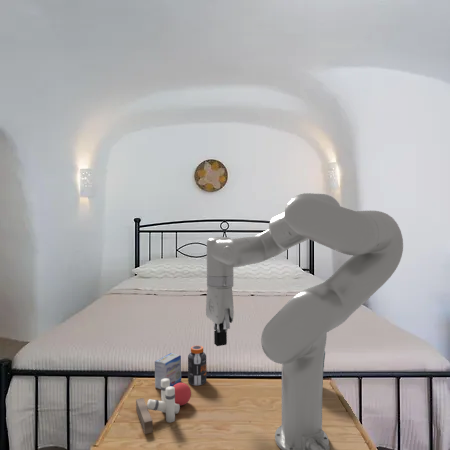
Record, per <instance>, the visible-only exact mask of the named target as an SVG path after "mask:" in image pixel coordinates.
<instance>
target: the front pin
mask: <svg viewBox="0 0 450 450" xmlns="http://www.w3.org/2000/svg"><path fill="white" fill-rule="evenodd" d="M146 406H147V409H148V410H149V411H150V410H151V411H157V412H162V411H163V412H166V402H164V401H161V400H158V399H151V398H149V399H148V400H147V403H146ZM180 408H181V407H180V405H179V404H176V403H175V415H176V414H179V412H180ZM163 412H162V413H163Z"/></svg>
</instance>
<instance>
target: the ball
mask: <svg viewBox="0 0 450 450" xmlns="http://www.w3.org/2000/svg"><path fill="white" fill-rule="evenodd" d="M173 387H174V388H175V403H176V404H179V405H180V406H184V405H186V404H187V403H189V401H190V399H191V396H192V390H191V387H190V386H189V385H188V384H187V383H185V382H179V383H177V384H175V385H174V386H173Z"/></svg>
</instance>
